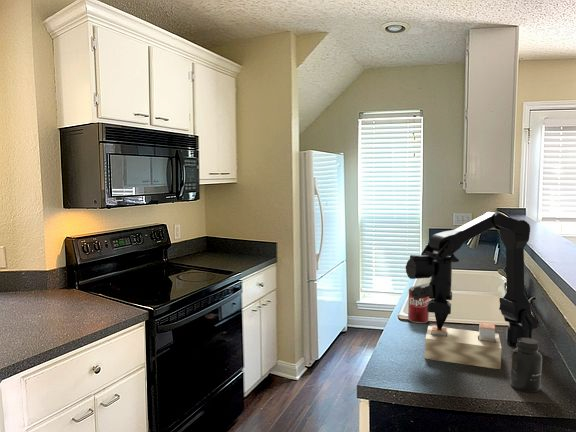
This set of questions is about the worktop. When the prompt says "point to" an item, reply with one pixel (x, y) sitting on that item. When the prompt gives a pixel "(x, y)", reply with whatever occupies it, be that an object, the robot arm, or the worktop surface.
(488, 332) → the peg
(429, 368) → the worktop surface
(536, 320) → the robot arm
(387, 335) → the worktop surface
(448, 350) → the socket block
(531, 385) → the supplement bottle
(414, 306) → the soda can
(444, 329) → the peg
